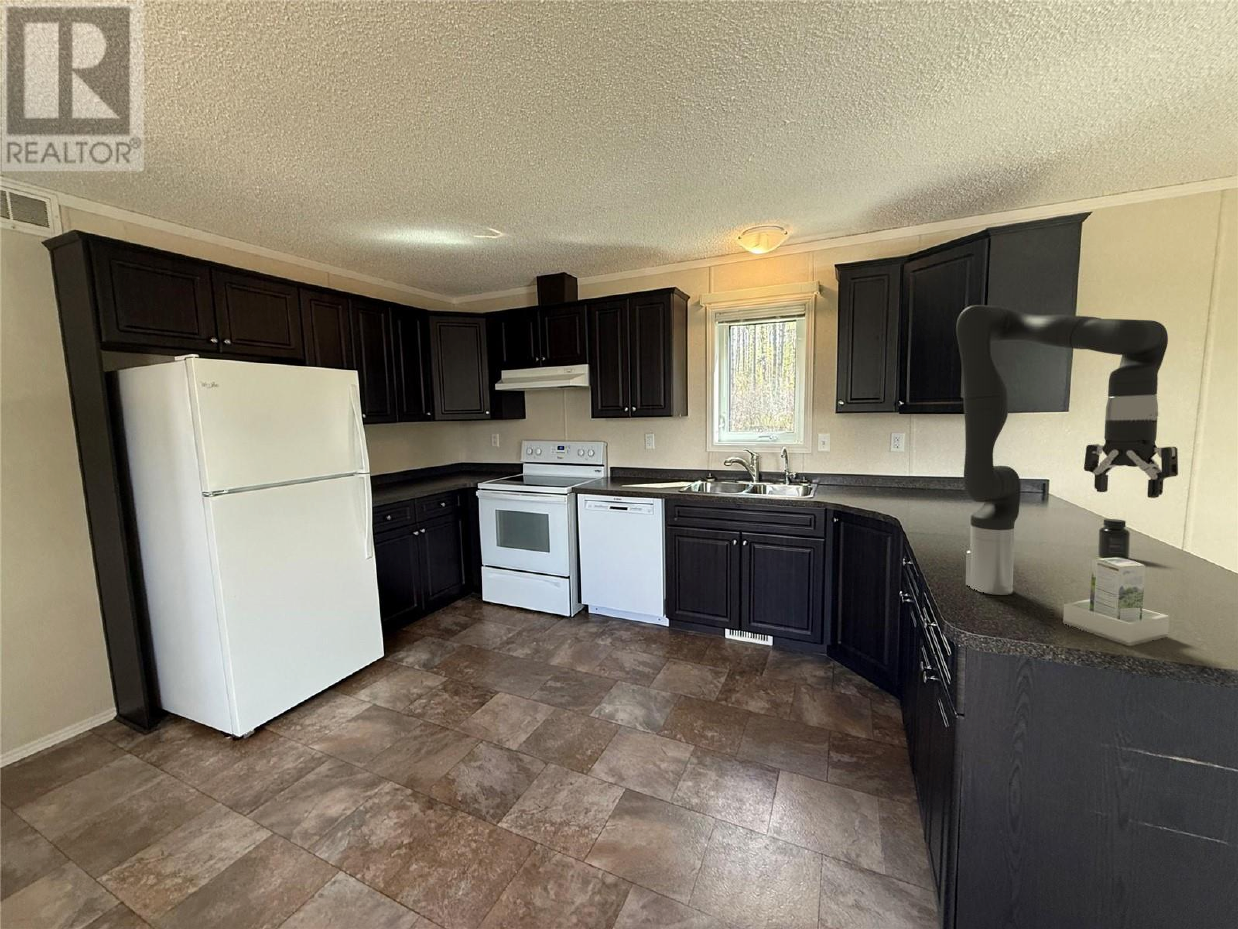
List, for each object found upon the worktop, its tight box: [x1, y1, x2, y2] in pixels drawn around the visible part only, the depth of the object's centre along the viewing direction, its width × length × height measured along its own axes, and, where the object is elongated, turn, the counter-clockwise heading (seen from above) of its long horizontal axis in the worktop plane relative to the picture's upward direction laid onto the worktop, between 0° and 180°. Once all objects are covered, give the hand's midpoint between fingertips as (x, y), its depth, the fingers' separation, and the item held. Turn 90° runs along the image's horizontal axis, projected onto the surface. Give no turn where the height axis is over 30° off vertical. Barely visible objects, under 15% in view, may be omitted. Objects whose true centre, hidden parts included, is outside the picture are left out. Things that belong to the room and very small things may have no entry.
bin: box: [1062, 598, 1170, 647], centre depth 104 cm, size 12×12×4 cm
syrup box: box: [1089, 558, 1147, 622], centre depth 103 cm, size 6×6×14 cm
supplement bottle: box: [1097, 518, 1131, 560], centre depth 151 cm, size 7×7×12 cm
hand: (1126, 494), depth 103 cm, fingers open, 8 cm apart
